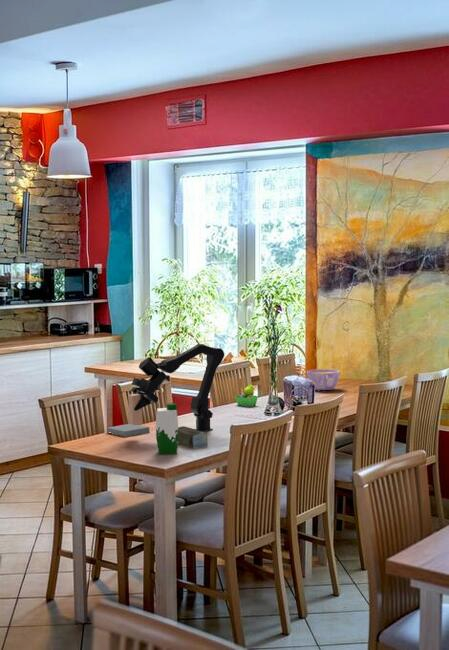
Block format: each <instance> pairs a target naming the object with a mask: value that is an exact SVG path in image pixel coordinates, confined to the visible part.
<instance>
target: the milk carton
mask: <svg viewBox="0 0 449 650" xmlns="http://www.w3.org/2000/svg"><path fill="white" fill-rule="evenodd" d="M177 406H178V405H177V403H173V402H171V403H166V407H161V408H160V407H158V408H156V415H155V416H156V417H155V418H156V419H155V436H156V437H155V438H156V446H157V450H158V453H159V454H158V455H177V454H178V446H179V444H178V427H179V420H178V407H177Z"/></svg>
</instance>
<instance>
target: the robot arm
mask: <svg viewBox="0 0 449 650" xmlns="http://www.w3.org/2000/svg"><path fill="white" fill-rule="evenodd" d="M200 354H201V355H202V354H203V355H205V356H206V366H205V367H206V368H205V371H204V374H203V377H202V381H201V383H200V387H199V391H198V393H197V395H196V396H192V397H191V402H190V404H189V405H190V410H191V412H192V413H193V415H194V417H196V418H195V419H196V420H195V428H194V429H195V430H198V431H202V432H205V433H206V432H208V431H213V430H214V428H211V418H213V415H214V413H213V412H212V411H211V410H210V409H209V406H210V405H209V404H210V403H209V395H210V392H211V388H212V386H213V385H212V384H213V381H214V380H215V379H214V378H215V375H216V371H217V369H218V367H219V366H220V365H221V364H222V362H223V360H224V358H225V352H224V350H223V349H222V348H220V347H219V348H218V347H213V346H212V347H211V346H208V345H206V344H204V343H197V344H196V345H194V346H192V347H190V348H188V349H186V350H185V351H183V352H182V353H180V354H178V355H176V356H172V357H168V358H165V359H163V360H161V361H160V362H157V363H156V361H154V360H153V357H152V358H151V357H150V356H147V358H145V359H143V361H141V362H140V363H139V365H138V369H140V370H141V372H143V373H144V374H145V375H146V376H147V377H149V376H150V378H149V379H146V378H144V377H141V378H137V377H134V378H133V380H132V382H131V385H133V386H132V388H131V389H130V392H131V393H132V394H140V400H139V402H138V403H137V405H136V406H135V408H134V410H135V411H137V410H139V409H141V408H142V409H143V408H145V407H147V406H148V405H151V404H158V403H157V402H158V401H159V397H158V395H156V394H155V393H156V392H157V391H158V392H159V390H160V387H161V386H162V385H163V383H164V382H165V381H166V382H169V383H170V382H171V380H170V375H169V374H172V373H175V372H176V371H177V370H178V369H179V368H180V367H181V366H182V365H183V364H185V363H186V362H188V361H190V360H192V359H194V358H195V357H197V356H198V355H200ZM166 373H167V374H166Z"/></svg>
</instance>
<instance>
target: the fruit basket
mask: <svg viewBox="0 0 449 650" xmlns="http://www.w3.org/2000/svg"><path fill="white" fill-rule="evenodd" d="M254 389H255V386H254V385H253V384H248V385H247V386H246V387H245V388H244V389H243V392H244V393H241V394H240V395H235V396H234V398H235V400H236V403H237V406H239V405H241V406H242V407H246V406H252V407H254V406H253V405H257V401H258V398H259V396H257V395H254V394H255V390H254ZM241 406H240V407H241Z"/></svg>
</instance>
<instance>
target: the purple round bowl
mask: <svg viewBox="0 0 449 650" xmlns="http://www.w3.org/2000/svg"><path fill="white" fill-rule="evenodd" d="M340 373H341V371H340V370H338V369H329V368H328V369H326V368H325V369H323V368H322V369H321V368H320V369H309V370H307V371H306V375H307V379H308V378H309V379H311V380H312V381H313V382H314V383H315V390H316V391H317V390H329V389H330V390H333V389H335V388H336V387H337V385H338V382H339V378H340Z"/></svg>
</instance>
